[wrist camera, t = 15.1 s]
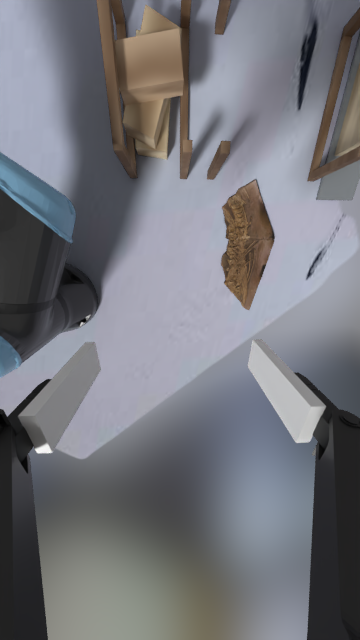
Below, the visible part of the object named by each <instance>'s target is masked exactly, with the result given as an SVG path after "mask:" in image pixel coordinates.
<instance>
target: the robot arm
mask: <svg viewBox="0 0 360 640" xmlns="http://www.w3.org/2000/svg"><path fill="white" fill-rule="evenodd" d="M75 219H76V213H75V209H74V207H73V205H72V203H71V202H70V200H69V199H68V198H67V197H66V196H64V195H63V194H62V193H60V192H59V191H57V190H56V189H54V188H53V187H52V186H50V185H49V184H47V183H46V182H44V181H43V180H41V179H40V178H38V177H37V176H35V175H34V174H32V173H31V172H29V171H28V170H26V169H25V168H23V167H22V166H20V165H19V164H17V163H16V162H14V161H13V160H11V159H10V158H8V157H7V156H5V155H4V154H2V153H1V152H0V378H1V377H3V376H4V375H6V374H8V373H9V372H11V371H12V370H14V369H16V368H18V367H19V366H20V365H21V363H23V362H24V361H25V360H26V359H28V358H29V357H30V356H32V355H33V354H34V353H35V352H37V351H38V350H39V349H41V348H42V347H43V346H44V345H46V344H47V343H48V342H50V341H51V340H52V339H53V338H55V337H56V336H57V335H58V334H60V333H62V332H66V331H71V330H74V329H78V328H80V327H82V326H83V325H85V324H86V323H87V322H88V321H90V320H91V319H92V317H93V316H94V314H95V312H96V310H97V305H98V300H97V294H96V291H95V288H94V286H93V285H92V283H91V281H90V280H89V279H88V278H87V277H86V276H85V275H84V274H83V273H82V272H81V271H80V270H78V269H77V268H75V267H73V266H71V265H69V264H66V259H67V256H68V252H69V248H70V245H71V244H72V243H73V240H72V234H73V229H74V224H75ZM248 367H249V369H250V371H251V372H252V374H253V375H254V377H255V379H256V380H257V382H258V383H259V385H260V387H261V388H262V390H263V391H264V393H265V394H266V396H267V397H268V399H269V401H270V402H271V404H272V405H273V407H274V409H275V410H276V412H277V413H278V415H279V416H280V418H281V420H282V421H283V423H284V425H285V426H286V428H287V429H288V431H289V432H290V434H291V436H292V437H293V439H294V440H295V442H296V443H304V442H310V440H311V438H312V436H314V437H315V438H316V440H317V441H318V443H317V445H316V447H315V449H314V451H313V453H312V455H313V456H315V454H316V461H315V483H314V505H313V527H312V549H311V570H310V592H309V593H310V594H309V614H308V633H307V640H360V418H358V417H357V416H355V415H354V414H352V413H350V412H347V411H344V410H339V409H338V408H337V407H336V406H335V405H334V404H333V403H332V402H331V401H330V400H329V399H328V398H327V397H326V396H325V395H324V394H323V393H321V391H320V390H318V389H317V388H316V387H315V386H314V385H313V384H312V383H311V382H310V381H309V380H308V379H307V378H306V377H304V376H303V375H301V374H299V373H294V372H292V370H291V369H290V368H289V367H288V366H287V365H286V364H285V363H284V362H283V361H282V360H281V359H280V358H279V357H278V356H277V355H276V354H275V353H274V352H273V351H272V350H271V349H270V348H269V347H268V345H267V344H266V343H265V342H263V340H261V339H260V340H253V341H252V346H251V352H250V357H249V362H248ZM100 370H101V368H100V363H99V358H98V354H97V349H96V345H95V342H85V343H84V345H83V346H82V347H81V348H80V349H79V350H78V351H77V352H76V353H75V354H74V355H73V357H72V358H71V359H70V360H69V361H68V362H67V363H66V364H65V365H64V366H63V367H62V369H61V370H60V371H59V372H58V373H57V374H56V375H55V376H54V377H53V378H52V379H47V380H45V381H44V382H42V383H41V384H39V385H38V386H37V387H36V388H35V389H34V390H33V391H32V393H30V394H29V395H28V396H27V397H26V399H24V400H23V401H22V402H21V403H20V404H19V405H18V406H17V408H16V409H15V410H14V411H13V412H12V413H11V414H10V415H9V416H8V417H7V416H6V414H5V412H4V410H2V409H0V640H48V636H47V626H46V616H45V607H44V606H45V605H44V595H43V586H42V576H41V566H40V556H39V545H38V535H37V525H36V515H35V505H34V494H33V485H32V474H31V465H30V457H29V455H28V453H29V452H30V450H31V449H32V448H33V446H34V448H35V450H36V452H37V453H52V452H53V450H54V449H55V447H56V445H57V444H58V442H59V440H60V439H61V437H62V435H63V433H64V432H65V430H66V428H67V427H68V425H69V423H70V421H71V420H72V418H73V416H74V415H75V413H76V411H77V410H78V408H79V406H80V404H81V403H82V401H83V399H84V398H85V396H86V394H87V392H88V391H89V389H90V387H91V386H92V384H93V382H94V381H95V379H96V377H97V375H98V374H99V372H100Z"/></svg>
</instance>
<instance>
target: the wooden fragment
mask: <svg viewBox="0 0 360 640" xmlns="http://www.w3.org/2000/svg"><path fill="white" fill-rule="evenodd" d="M222 209H223V213H224V216H225V223H226V225H227V230H226V238H227V239H229V242H228V246H227V251H226V252H225V253H224V255H223V256H222V263H221V265H222V267H223V270H224V273H225V279H226V280H225V282H224V283H225V285H226V286H227V287H228V288H229V289H230V291H231V292H232V293H234V295H235V296H236V297H237V299H238V300H239V301H240V302H241V304H242V306H243V307H244V308H245V309H247V310H249V309H250V306H251V303H252V301H253V298H254V296H255V293H256V290H257V287H258V285H259V282H260V280H261V277H262V274H263V271H264V269H265V266H266V263H267V260H268V257H269V255H270V251H271V249H272V246H273V243H274V238H275V237H274V233H273V231H272V228H271V225H270V222H269V219H268V216H267V213H266V210H265V207H264V204H263V201H262V199H261V196H260V193H259V189H258V186H257V183H256V180H253V181H252V182H250V183H249V184H247V185H245V186H243V187H241V188H239V189H238V191H237V192H236V194H235V195H234V196H232V197H230V198H229V199H228V201H227V203H226V204H225V205H224V206H223V207H222ZM271 239H272V240H271Z"/></svg>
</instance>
